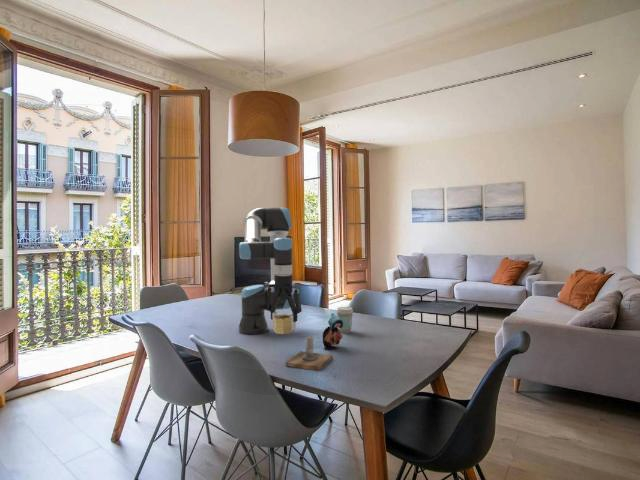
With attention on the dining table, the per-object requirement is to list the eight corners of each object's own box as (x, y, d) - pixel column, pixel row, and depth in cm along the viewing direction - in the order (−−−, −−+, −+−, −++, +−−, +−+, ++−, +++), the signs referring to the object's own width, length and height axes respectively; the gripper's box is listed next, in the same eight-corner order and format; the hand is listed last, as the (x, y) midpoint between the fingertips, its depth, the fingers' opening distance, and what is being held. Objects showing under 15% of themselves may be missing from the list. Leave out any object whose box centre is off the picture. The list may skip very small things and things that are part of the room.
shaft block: (285, 366, 142) (285, 341, 142) (300, 354, 155) (300, 332, 155) (320, 370, 137) (319, 345, 137) (332, 358, 150) (332, 335, 150)
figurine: (332, 352, 158) (331, 317, 157) (319, 349, 162) (319, 314, 162) (346, 346, 165) (346, 313, 165) (334, 343, 170) (334, 311, 170)
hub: (271, 332, 155) (271, 318, 155) (280, 327, 162) (279, 313, 162) (288, 334, 152) (288, 320, 152) (296, 329, 160) (296, 315, 159)
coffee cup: (352, 334, 185) (352, 310, 185) (335, 333, 187) (335, 309, 186) (354, 329, 193) (354, 306, 193) (338, 329, 195) (337, 306, 195)
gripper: (257, 274, 156) (257, 328, 157) (302, 277, 149) (303, 333, 150) (265, 272, 163) (266, 323, 164) (309, 274, 156) (310, 328, 157)
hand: (284, 328), depth 157 cm, fingers closed on hub, 8 cm apart
